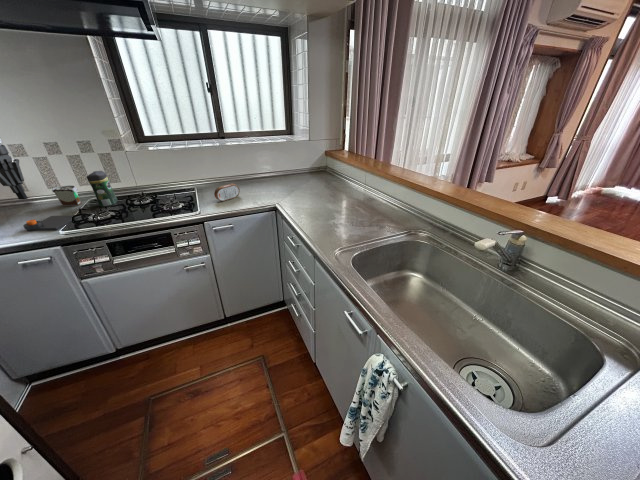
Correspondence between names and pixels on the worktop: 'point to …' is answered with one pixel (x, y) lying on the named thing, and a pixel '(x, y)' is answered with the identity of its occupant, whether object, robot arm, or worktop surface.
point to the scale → (49, 223)
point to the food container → (67, 195)
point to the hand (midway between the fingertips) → (23, 198)
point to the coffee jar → (102, 188)
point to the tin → (227, 192)
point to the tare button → (31, 222)
